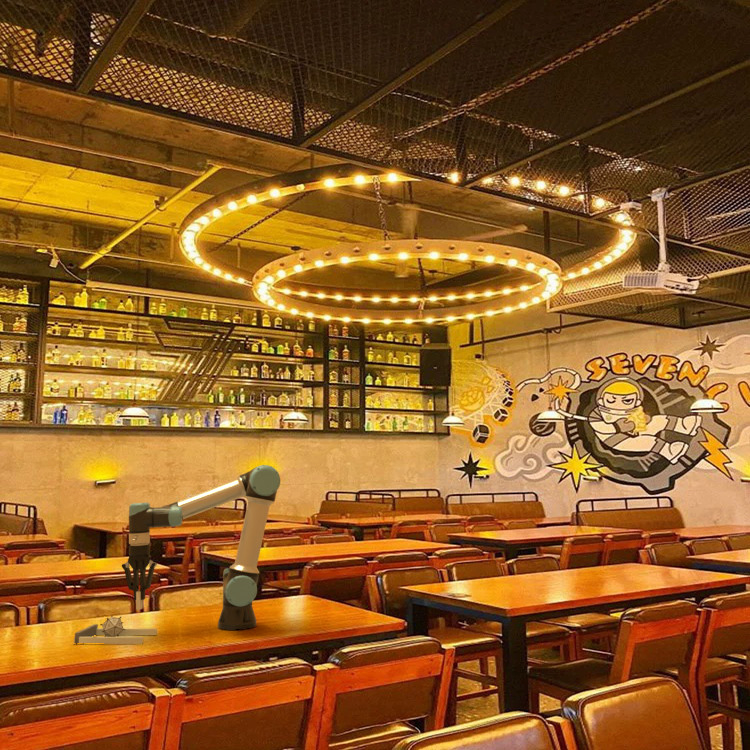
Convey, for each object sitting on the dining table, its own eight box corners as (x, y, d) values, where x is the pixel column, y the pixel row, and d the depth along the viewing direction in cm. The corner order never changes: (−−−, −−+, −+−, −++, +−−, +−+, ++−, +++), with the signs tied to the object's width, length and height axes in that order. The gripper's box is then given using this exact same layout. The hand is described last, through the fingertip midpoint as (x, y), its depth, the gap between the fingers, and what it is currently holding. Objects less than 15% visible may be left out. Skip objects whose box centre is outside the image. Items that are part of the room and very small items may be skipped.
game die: (121, 647, 276) (94, 641, 276) (130, 629, 283) (104, 624, 284) (121, 630, 272) (94, 624, 272) (130, 612, 279) (104, 607, 279)
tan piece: (157, 635, 282) (157, 624, 283) (141, 644, 266) (142, 633, 267) (92, 635, 283) (93, 624, 284) (73, 644, 267) (74, 633, 268)
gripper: (118, 546, 276) (118, 611, 273) (152, 544, 275) (153, 610, 272) (126, 544, 283) (126, 607, 280) (159, 542, 282) (160, 606, 279)
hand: (139, 608), depth 276 cm, fingers closed
